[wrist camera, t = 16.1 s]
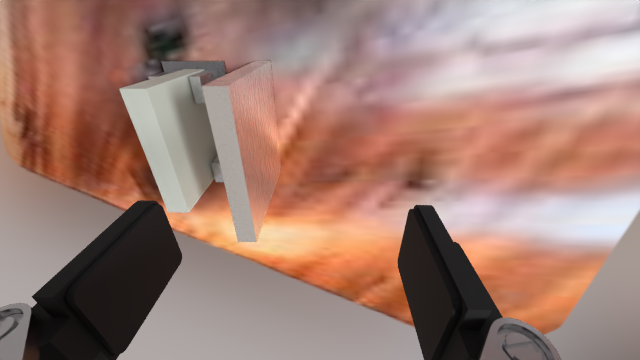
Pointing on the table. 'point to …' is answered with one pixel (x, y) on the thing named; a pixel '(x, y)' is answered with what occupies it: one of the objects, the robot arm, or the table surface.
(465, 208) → the table surface
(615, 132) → the table surface
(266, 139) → the white boxy piece
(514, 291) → the table surface
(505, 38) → the table surface
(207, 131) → the door panel
